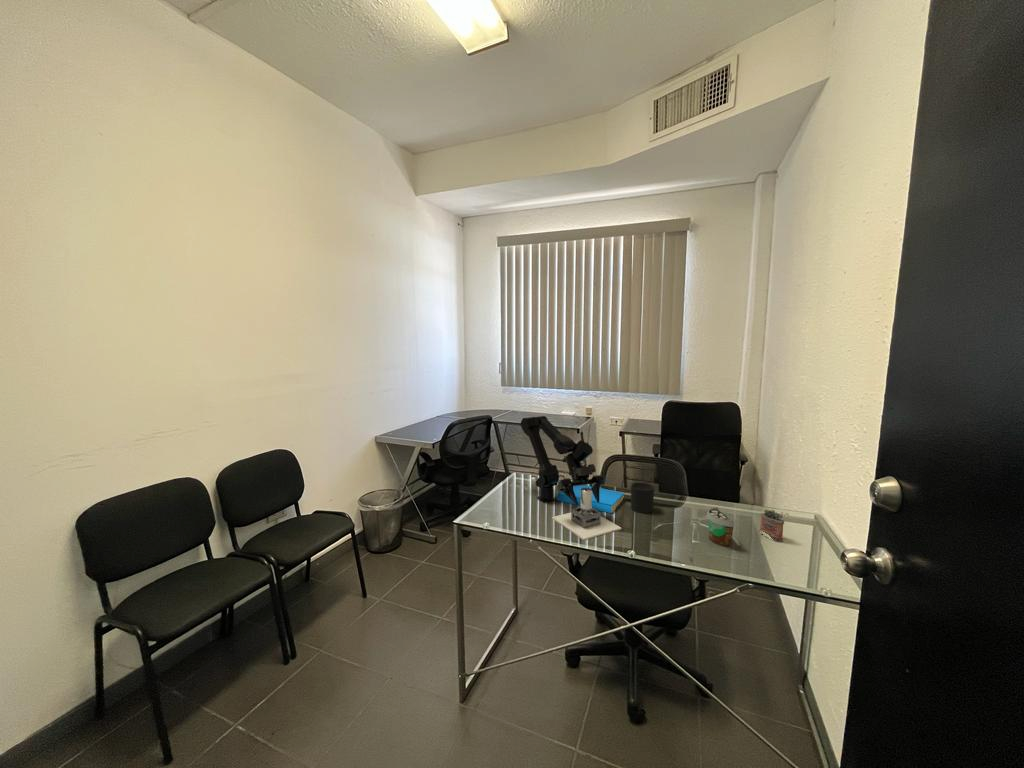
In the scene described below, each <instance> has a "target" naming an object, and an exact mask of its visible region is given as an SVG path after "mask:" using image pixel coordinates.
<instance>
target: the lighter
mask: <svg viewBox="0 0 1024 768" xmlns="http://www.w3.org/2000/svg"><path fill="white" fill-rule="evenodd" d="M784 525H785V521H784V520H783V514H781V513H780V512H776V511H775V510H774V509H768V508H764V512H762V513H760V525H759V531H760V530H761V531H763V532H765V533H766V534H768V535H769V536H770V537H771V538H772V539H773V540H772V541H774V542H776V543H783V541H784V539H783V536H784V534H783V533H784Z"/></svg>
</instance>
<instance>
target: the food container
mask: <svg viewBox="0 0 1024 768" xmlns="http://www.w3.org/2000/svg"><path fill="white" fill-rule="evenodd" d="M705 516H706V518H707V521H708V527H707V528H708V539H709V541H710V542H711V543H713V544H716V545H718V546H722V547H726V548H731V547H732V539H733V534H734V533H733V531H734V528H735V520H731V519H729V518H728V516H727V515H726V514H724V513H723V512H721V511H720V509H719V507H717V506H715V507H710V508H709V509H708V510H707V513H706V515H705Z"/></svg>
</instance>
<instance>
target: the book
mask: <svg viewBox="0 0 1024 768" xmlns="http://www.w3.org/2000/svg"><path fill="white" fill-rule="evenodd" d="M581 488H590V489H591V488H592V487H591V486H590V485H589V484H588V485H579V486H573V490H574V493H575V496H576V499H577V502H578V505H577V506H580V500H581ZM623 498H624V499H625V493H624V492H621V491H616V490H612V489H607V488H603V487H600V489H599V502H597V501H596V499H595V497H594V494H593V492H592V508H593V509H595V510H597V511H599V512H605V513H609V514H613V513H614V512H615V510H616V509H617V508H618V507H619V506H620V505H621V504H620V502H621V501H622V500H623ZM556 500H557V501H559V502H563V503H568V504H571V505H575V503H574V502H573V501H572V500H571V499H570V498H569V497H568V496H567V495H566V494H565V493H562V491H560V492H559V491H557V497H556ZM619 504H620V505H619ZM618 505H619V506H618ZM617 506H618V507H617ZM616 507H617V508H616Z"/></svg>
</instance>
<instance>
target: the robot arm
mask: <svg viewBox="0 0 1024 768" xmlns="http://www.w3.org/2000/svg"><path fill="white" fill-rule="evenodd" d="M520 427H521V429H522V431H523V433H524V434H525V435H526V436H527V437H528V438H529V440H530V443H531V446H532V448H533V452H534V455H535V458H536V460H537V462H538V466H539V469H538V476H539V477H538V478H537V479H536V480H535V482H534V483H535V486H536V487H538V488H539V495H538V496H536V498H537V499H538V500H540V501H542V503H549V502H553V501H556V500H557V497H554V486H556V488H557V492H560V491H562V493H565V494H566V495H567V496H568V497H569V498H570V499H571V500H572V501H573V502H574V503H575V504H574V505H575V506H579V505H578V502H577V499H576V496H575V493H574V490H573V486H579V485H588V486H591V487H592V488H591V489H592V492H593V494H594V497H595V499H596V501H597V502H599V489H600V488H601V486H602V485H603V483H604V482H605V481H606V479H605V476H603V475H602V474H596V475H593V473H596V472H597V469H596V466H595V464H594V463H592V464H591V463H590V464H588V465H587V466H585V465H584V464H582V462H584V461H585V460H587V458H588V457H590V455H592V454H593V452H594V449H593V447H592V445H590V444H589V443H588V442H585V440H584V439H581V440H579V441H578V442H577V443H576V442H574V440H573V439H572V438H571V437H570V436H567V435H565V434H562V433H561V432H560V431H559V430H558V429H557V428H556V427H555V426H554V424H552V422H550V420H549V419H548V417H547V416H545V415H541V416H540V415H539V416H529V417H523V418H522V419H521V421H520ZM541 430H542V431H543V432H544V434H545V435H546V436H547V437H548V438H549V439H550V441H552V443H553V448H554V449H555V450H556V452H557V453H558V454H559V455H564V457H563V459H562V463H566V465H567V468H568V475H569V476H570V478H562V479H560V472H559V470H558V467H557V465H556V464H552V463H551V461H550V459H549V456H548V453H547V451H546V448H545V446H544V443H543V440H542V438H541V435H540V431H541ZM566 454H567V455H566ZM591 475H592V477H591V478H589V477H590V476H591ZM559 479H560V480H559Z"/></svg>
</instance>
